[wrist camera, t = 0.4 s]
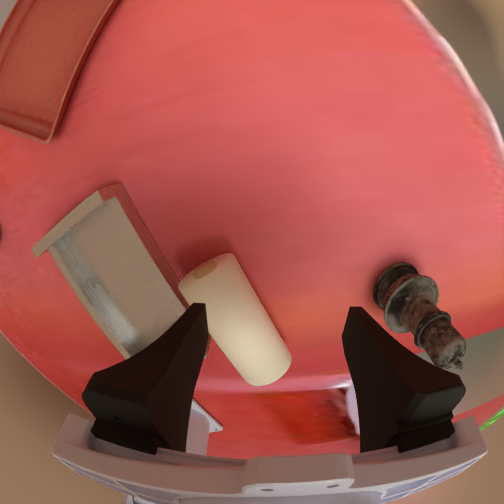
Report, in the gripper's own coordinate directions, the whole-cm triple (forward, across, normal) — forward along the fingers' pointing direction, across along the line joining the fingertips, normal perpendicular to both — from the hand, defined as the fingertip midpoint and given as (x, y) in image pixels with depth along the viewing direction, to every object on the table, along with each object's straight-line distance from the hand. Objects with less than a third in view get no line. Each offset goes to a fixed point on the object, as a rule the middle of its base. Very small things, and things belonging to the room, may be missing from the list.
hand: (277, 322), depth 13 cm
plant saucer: (+12, +23, -21) cm, 33 cm away
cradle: (+9, +14, +4) cm, 17 cm away
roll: (+10, +3, +7) cm, 12 cm away
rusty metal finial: (+10, -12, +4) cm, 17 cm away
